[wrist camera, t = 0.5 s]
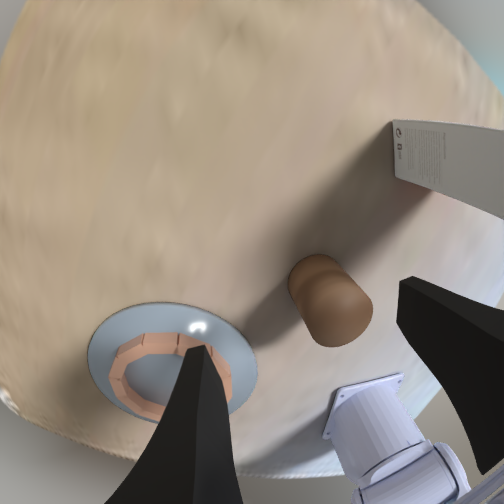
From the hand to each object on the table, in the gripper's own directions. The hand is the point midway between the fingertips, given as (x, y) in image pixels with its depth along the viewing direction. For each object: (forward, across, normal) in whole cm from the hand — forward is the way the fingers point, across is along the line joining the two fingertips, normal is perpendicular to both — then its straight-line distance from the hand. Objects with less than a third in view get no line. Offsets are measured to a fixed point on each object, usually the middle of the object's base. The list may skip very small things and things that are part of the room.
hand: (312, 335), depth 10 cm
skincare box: (+10, -13, -3) cm, 17 cm away
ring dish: (+10, +10, +10) cm, 17 cm away
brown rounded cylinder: (+10, -3, +5) cm, 11 cm away
